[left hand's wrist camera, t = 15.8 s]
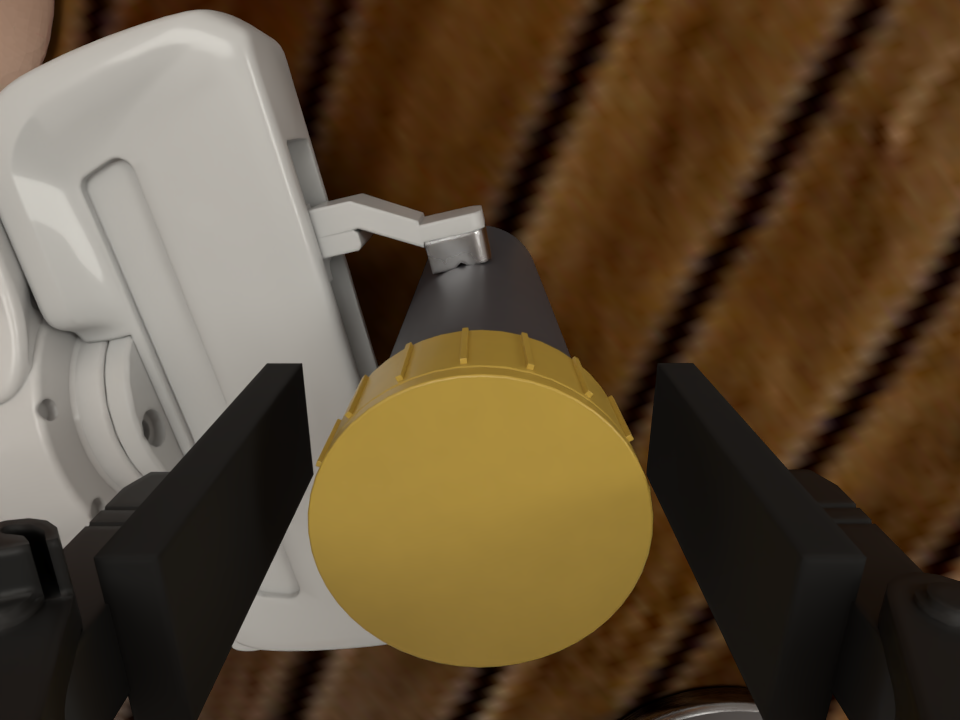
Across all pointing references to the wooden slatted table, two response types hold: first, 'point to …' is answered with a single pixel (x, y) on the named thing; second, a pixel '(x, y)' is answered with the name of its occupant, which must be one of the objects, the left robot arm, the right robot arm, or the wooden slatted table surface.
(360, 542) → the lid
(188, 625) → the left robot arm
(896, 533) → the wooden slatted table surface
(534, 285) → the jar
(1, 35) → the anatomical model
